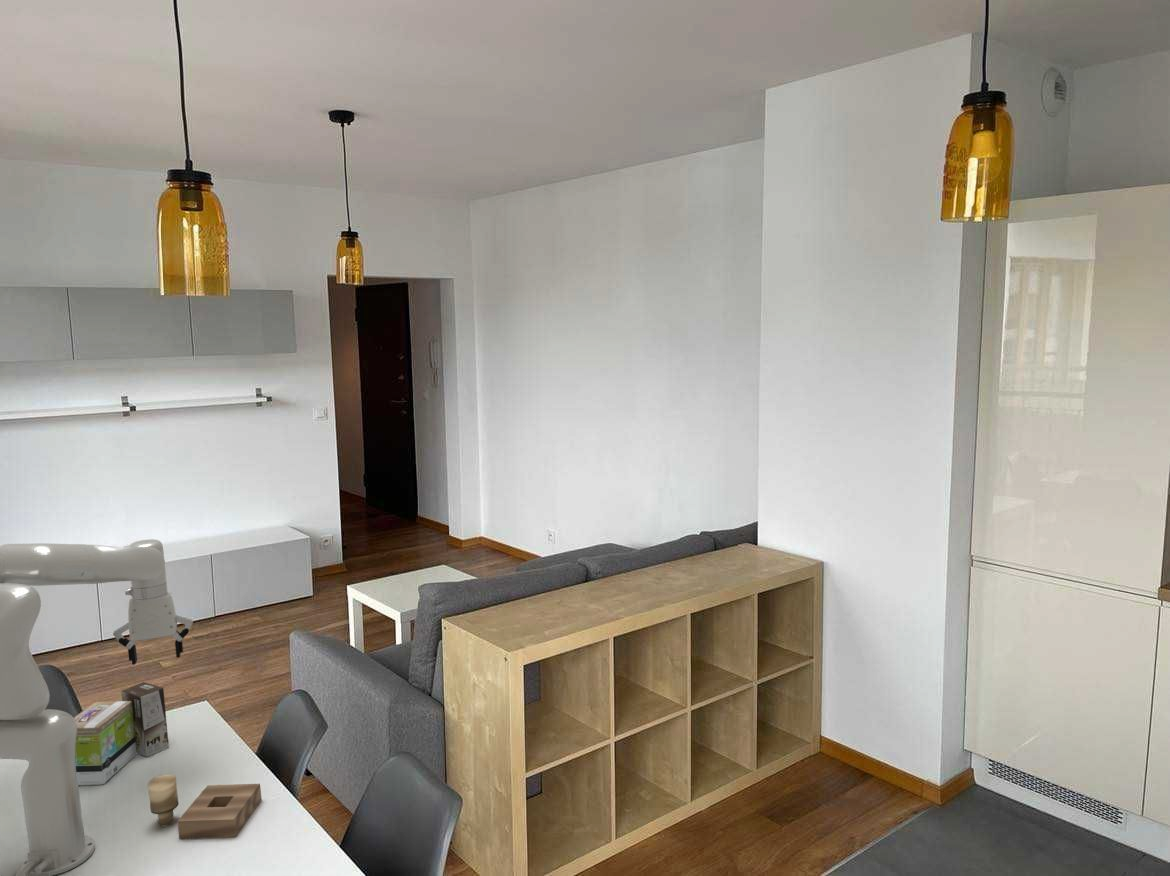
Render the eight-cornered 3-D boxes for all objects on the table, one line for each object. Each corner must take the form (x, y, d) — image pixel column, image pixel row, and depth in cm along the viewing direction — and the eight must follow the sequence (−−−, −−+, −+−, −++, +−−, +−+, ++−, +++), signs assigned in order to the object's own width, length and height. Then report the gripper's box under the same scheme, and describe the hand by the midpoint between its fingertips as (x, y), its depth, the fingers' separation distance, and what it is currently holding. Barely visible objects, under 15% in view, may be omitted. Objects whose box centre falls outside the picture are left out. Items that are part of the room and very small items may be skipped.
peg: (172, 828, 181) (168, 787, 180) (147, 829, 181) (142, 788, 180) (184, 814, 186) (180, 774, 185) (160, 815, 186) (155, 775, 185)
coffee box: (170, 747, 218) (164, 687, 216) (146, 757, 212) (140, 696, 211) (150, 739, 223) (144, 680, 221) (126, 749, 217) (120, 689, 215)
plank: (235, 836, 177) (233, 819, 176) (179, 838, 177) (177, 821, 176) (261, 800, 191) (260, 783, 190) (209, 801, 191) (207, 785, 190)
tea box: (105, 785, 200) (98, 726, 198) (63, 787, 200) (56, 728, 198) (138, 753, 215) (132, 699, 213) (99, 755, 215) (93, 700, 213)
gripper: (106, 600, 196) (114, 671, 198) (188, 590, 203) (194, 658, 205) (111, 592, 203) (119, 660, 205) (190, 582, 210) (196, 648, 212)
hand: (156, 659), depth 205 cm, fingers open, 9 cm apart
